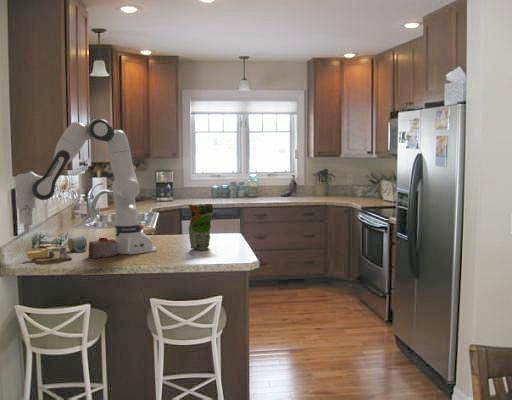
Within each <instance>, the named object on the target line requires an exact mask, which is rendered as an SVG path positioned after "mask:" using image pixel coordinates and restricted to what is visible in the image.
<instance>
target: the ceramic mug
mask: <svg viewBox="0 0 512 400" xmlns="http://www.w3.org/2000/svg"><path fill="white" fill-rule="evenodd" d="M67 247H68V250H69V251H70V252H77V253H85V252H86V251H87V248H88V242H87V239H86V237H85V236H84V235H79V236H75V237H74V236H73V237H71V238H68V240H67Z"/></svg>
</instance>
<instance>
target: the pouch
mask: <svg viewBox="0 0 512 400" xmlns="http://www.w3.org/2000/svg"><path fill="white" fill-rule="evenodd" d="M213 206H214V205H213V204H212V203H204V204H202V203H199V204H198V205H197V204H194V205H193V204H189V205H188V208H189V211H190V222H189V226H188V234H189V235H188V237H189V243H190V244H189V245H190V249H191V250H193V249H194V250H197V251H198V252H202V251H208V248H209V246H210V240H211V234H210V233H211V232H210V231H211V222H212V215H213V212H214V208H213Z"/></svg>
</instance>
